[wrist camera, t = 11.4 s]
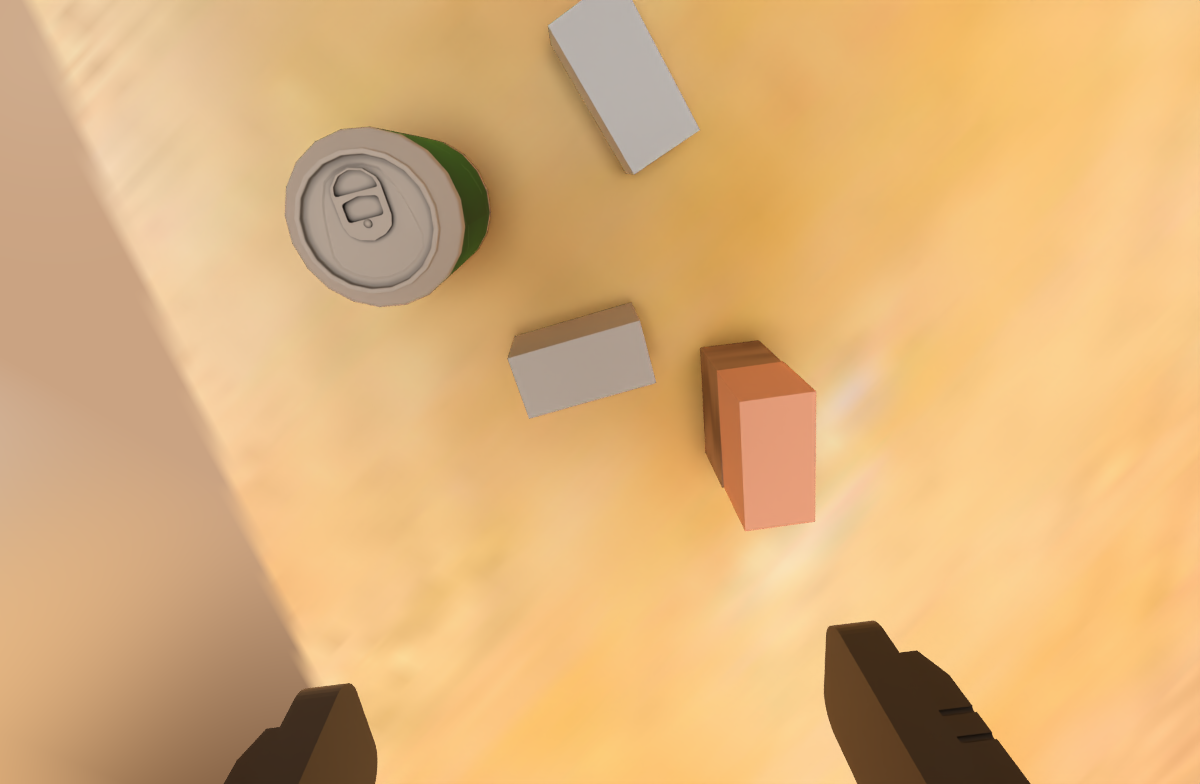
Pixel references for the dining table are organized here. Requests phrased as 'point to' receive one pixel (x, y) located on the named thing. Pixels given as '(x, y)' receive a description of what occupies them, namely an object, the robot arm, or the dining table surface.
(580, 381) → the slate brick
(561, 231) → the dining table surface
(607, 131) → the blue-grey brick
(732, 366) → the walnut brick
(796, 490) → the terracotta brick
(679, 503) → the dining table surface
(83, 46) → the dining table surface
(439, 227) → the soda can
